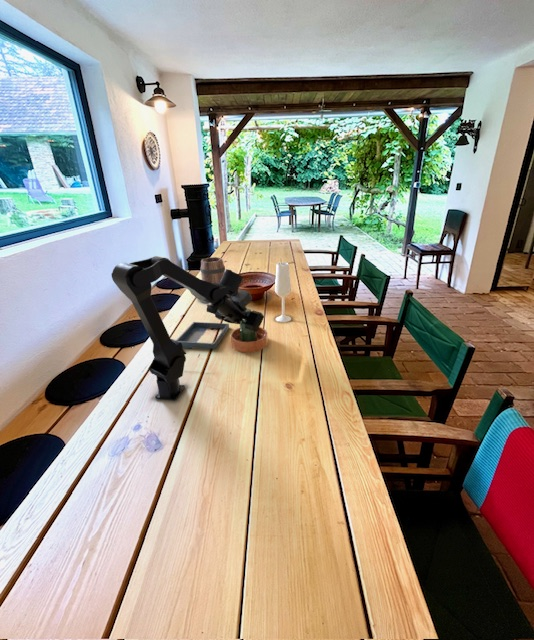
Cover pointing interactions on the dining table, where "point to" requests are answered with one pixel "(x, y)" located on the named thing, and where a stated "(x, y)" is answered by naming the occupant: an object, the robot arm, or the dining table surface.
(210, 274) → the tankard
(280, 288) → the champagne flute
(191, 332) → the tray
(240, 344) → the bowl
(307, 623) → the dining table surface
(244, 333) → the bottle
